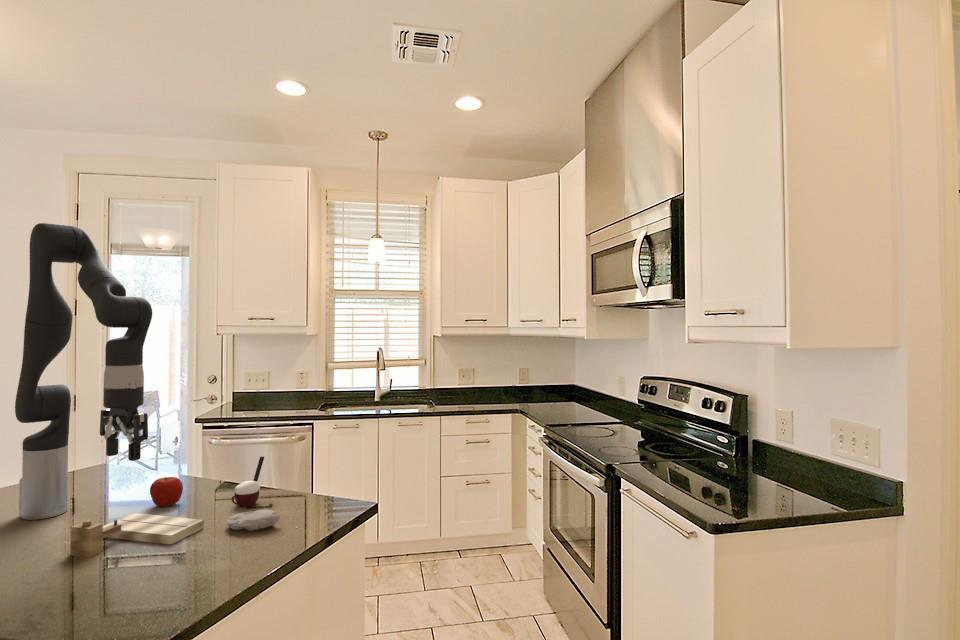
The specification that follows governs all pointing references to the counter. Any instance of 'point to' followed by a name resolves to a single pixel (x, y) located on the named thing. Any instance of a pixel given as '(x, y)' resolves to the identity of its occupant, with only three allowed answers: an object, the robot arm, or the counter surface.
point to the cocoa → (248, 489)
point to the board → (156, 528)
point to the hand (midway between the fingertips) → (123, 457)
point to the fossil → (253, 520)
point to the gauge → (90, 537)
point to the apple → (166, 491)
